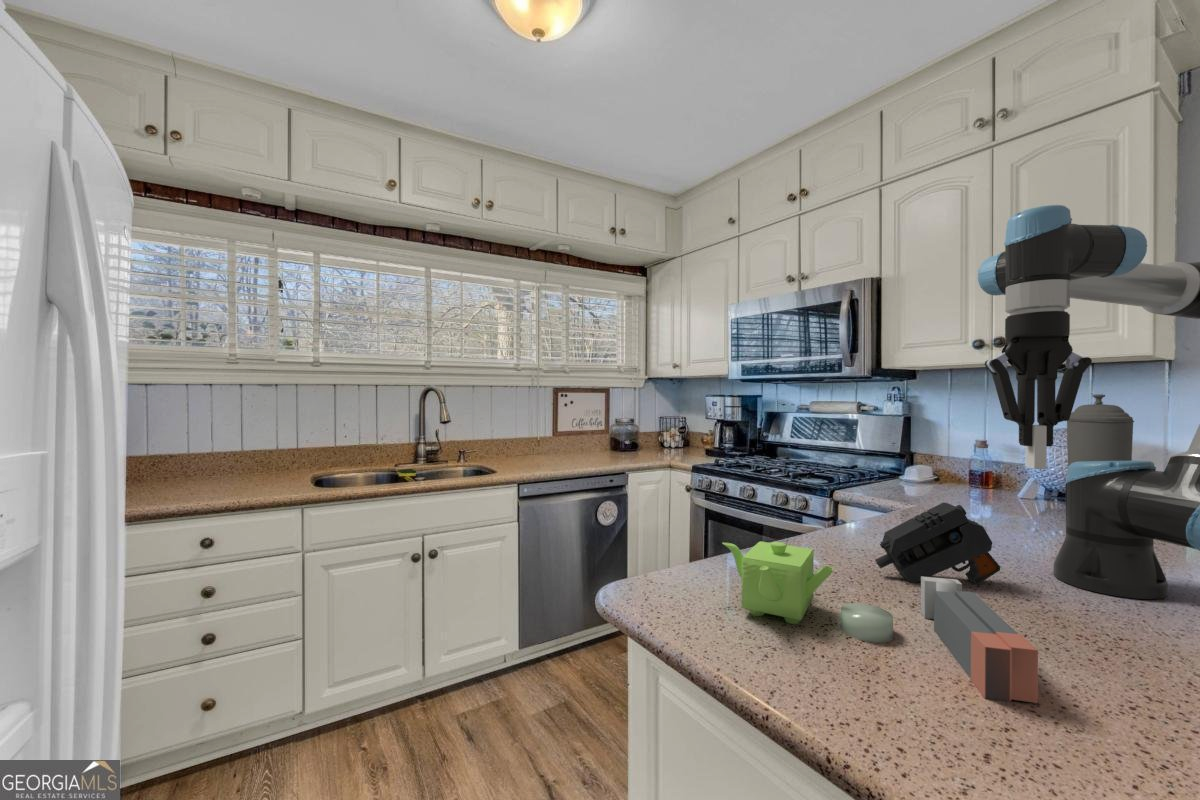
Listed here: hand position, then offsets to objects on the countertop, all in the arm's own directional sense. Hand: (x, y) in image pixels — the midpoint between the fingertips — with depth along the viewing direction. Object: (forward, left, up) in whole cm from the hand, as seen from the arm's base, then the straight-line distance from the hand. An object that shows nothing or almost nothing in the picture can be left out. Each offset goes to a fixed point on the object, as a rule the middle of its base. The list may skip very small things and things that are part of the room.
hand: (1035, 467), depth 79 cm
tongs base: (+13, +12, -24) cm, 30 cm away
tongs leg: (+11, +15, -24) cm, 31 cm away
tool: (+8, -18, -25) cm, 32 cm away
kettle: (+38, +5, -25) cm, 46 cm away
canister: (-44, -69, -25) cm, 85 cm away
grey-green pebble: (+25, +9, -25) cm, 36 cm away
